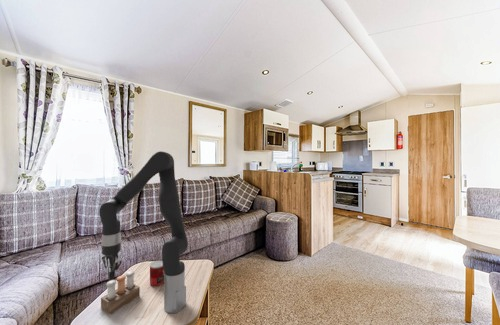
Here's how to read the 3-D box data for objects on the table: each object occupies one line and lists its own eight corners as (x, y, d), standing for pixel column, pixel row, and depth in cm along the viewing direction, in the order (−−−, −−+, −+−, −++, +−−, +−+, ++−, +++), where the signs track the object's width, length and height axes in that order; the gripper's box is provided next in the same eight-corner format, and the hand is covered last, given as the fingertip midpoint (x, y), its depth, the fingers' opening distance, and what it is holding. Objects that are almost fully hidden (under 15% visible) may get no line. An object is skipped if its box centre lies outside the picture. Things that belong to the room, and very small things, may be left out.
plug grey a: (117, 299, 97) (117, 281, 97) (109, 304, 94) (109, 285, 94) (113, 296, 99) (113, 279, 99) (104, 301, 96) (104, 283, 96)
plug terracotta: (127, 294, 101) (127, 276, 101) (119, 298, 98) (119, 280, 98) (122, 291, 103) (122, 274, 103) (114, 296, 100) (114, 278, 100)
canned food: (159, 287, 112) (159, 268, 112) (146, 285, 113) (146, 266, 113) (167, 279, 119) (167, 261, 119) (155, 278, 121) (155, 259, 121)
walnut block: (139, 296, 105) (139, 286, 105) (110, 314, 93) (110, 303, 92) (130, 291, 109) (130, 282, 109) (101, 308, 96) (101, 297, 96)
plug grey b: (136, 289, 105) (136, 272, 105) (128, 293, 102) (128, 275, 102) (131, 286, 107) (131, 270, 107) (124, 290, 104) (124, 273, 104)
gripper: (127, 242, 96) (127, 278, 97) (112, 236, 102) (112, 270, 103) (110, 248, 90) (110, 287, 90) (95, 242, 96) (95, 278, 96)
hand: (111, 278), depth 96 cm, fingers closed
